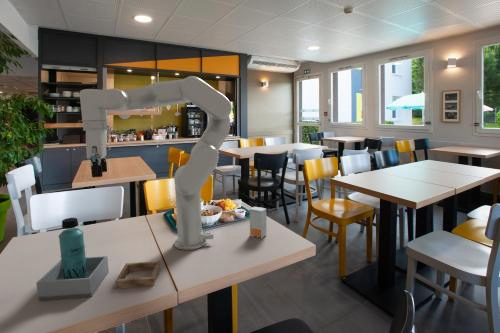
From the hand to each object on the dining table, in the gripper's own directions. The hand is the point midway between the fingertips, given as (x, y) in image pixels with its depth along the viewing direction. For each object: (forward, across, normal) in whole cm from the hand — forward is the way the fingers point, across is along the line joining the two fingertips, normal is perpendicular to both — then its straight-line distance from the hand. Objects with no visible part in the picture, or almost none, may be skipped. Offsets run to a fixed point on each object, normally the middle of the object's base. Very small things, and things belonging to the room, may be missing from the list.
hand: (100, 174), depth 107 cm
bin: (+30, +20, -6) cm, 37 cm away
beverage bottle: (+29, +21, -6) cm, 36 cm away
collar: (+30, +22, +12) cm, 39 cm away
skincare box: (+31, +1, +59) cm, 66 cm away
